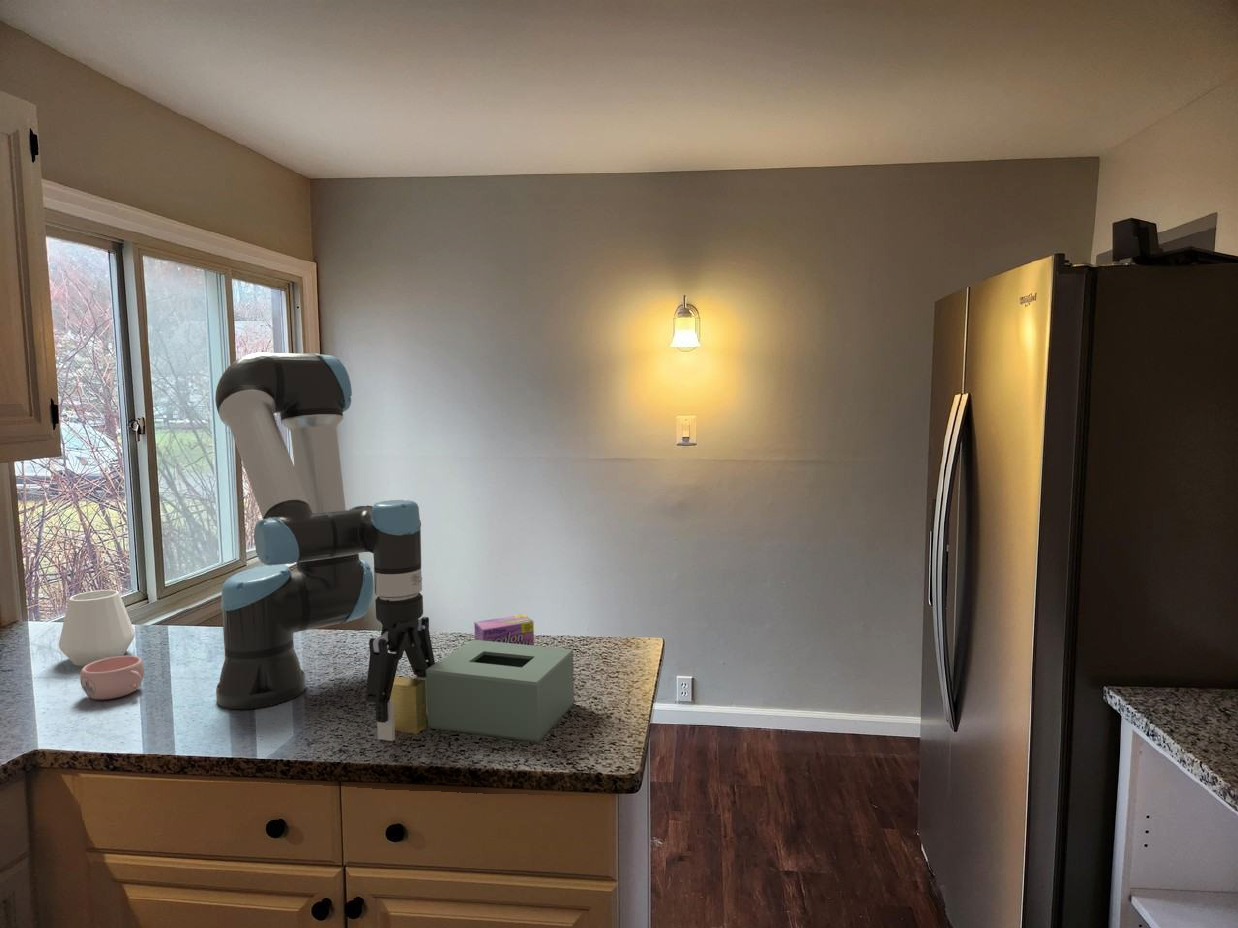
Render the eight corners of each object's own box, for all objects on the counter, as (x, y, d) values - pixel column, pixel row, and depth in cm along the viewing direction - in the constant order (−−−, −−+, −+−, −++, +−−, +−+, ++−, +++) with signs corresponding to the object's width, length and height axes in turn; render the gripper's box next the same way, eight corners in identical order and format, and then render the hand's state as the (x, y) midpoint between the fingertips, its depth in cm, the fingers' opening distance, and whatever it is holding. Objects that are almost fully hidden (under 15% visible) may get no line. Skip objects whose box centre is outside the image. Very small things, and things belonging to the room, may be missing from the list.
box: (484, 689, 141) (482, 628, 140) (475, 679, 146) (473, 620, 145) (535, 679, 146) (534, 620, 145) (525, 670, 151) (524, 613, 150)
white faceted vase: (148, 654, 163) (143, 591, 162) (77, 673, 152) (72, 606, 150) (118, 644, 170) (113, 584, 169) (48, 661, 159) (43, 597, 158)
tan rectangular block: (380, 728, 125) (378, 682, 124) (391, 721, 128) (389, 675, 127) (416, 733, 123) (415, 686, 122) (426, 726, 126) (425, 680, 125)
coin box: (427, 727, 125) (425, 669, 124) (474, 691, 140) (472, 639, 139) (537, 742, 119) (536, 682, 118) (574, 703, 134) (573, 649, 133)
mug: (68, 701, 138) (66, 669, 137) (120, 681, 147) (118, 652, 147) (116, 709, 134) (113, 677, 133) (165, 688, 143) (163, 658, 143)
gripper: (378, 614, 112) (384, 759, 114) (453, 580, 133) (457, 702, 135) (336, 611, 114) (342, 752, 116) (416, 577, 135) (420, 698, 137)
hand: (404, 725), depth 125 cm, fingers open, 9 cm apart
